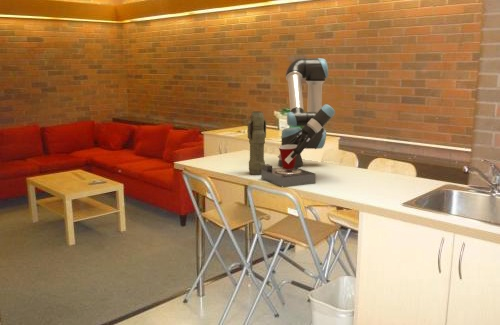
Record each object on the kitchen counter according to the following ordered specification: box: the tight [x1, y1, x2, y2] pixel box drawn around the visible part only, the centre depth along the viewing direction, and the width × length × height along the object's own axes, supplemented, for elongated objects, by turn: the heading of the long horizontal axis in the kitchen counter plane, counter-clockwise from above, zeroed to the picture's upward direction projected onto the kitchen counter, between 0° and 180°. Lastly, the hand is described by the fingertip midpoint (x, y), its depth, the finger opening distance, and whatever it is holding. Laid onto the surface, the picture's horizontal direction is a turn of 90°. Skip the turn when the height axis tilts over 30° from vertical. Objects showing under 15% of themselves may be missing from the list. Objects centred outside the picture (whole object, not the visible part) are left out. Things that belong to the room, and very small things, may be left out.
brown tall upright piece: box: [247, 110, 267, 176], centre depth 273 cm, size 9×12×35 cm
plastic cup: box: [277, 145, 297, 169], centre depth 255 cm, size 11×11×12 cm
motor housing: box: [260, 163, 317, 188], centre depth 257 cm, size 22×20×8 cm
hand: (282, 160), depth 255 cm, fingers closed on plastic cup, 10 cm apart
